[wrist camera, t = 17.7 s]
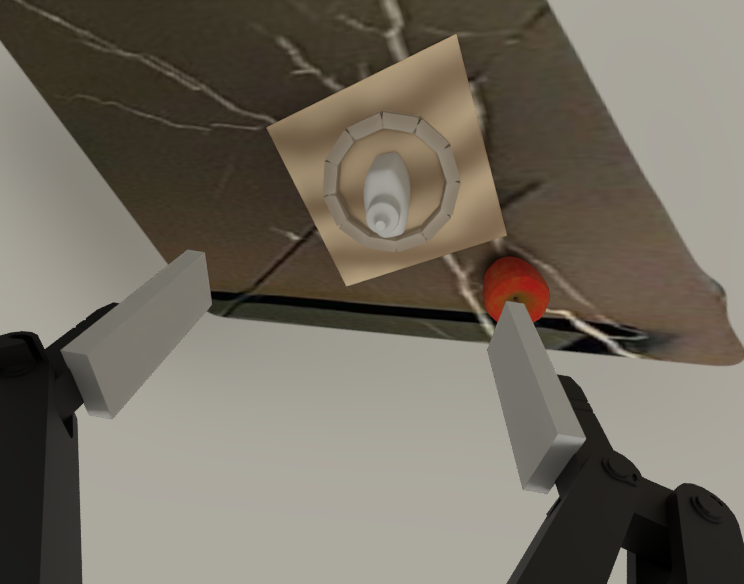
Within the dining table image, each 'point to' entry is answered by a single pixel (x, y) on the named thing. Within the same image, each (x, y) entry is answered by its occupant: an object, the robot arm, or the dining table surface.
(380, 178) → the eye dropper bottle
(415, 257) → the socket stand
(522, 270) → the apple
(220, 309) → the dining table surface
